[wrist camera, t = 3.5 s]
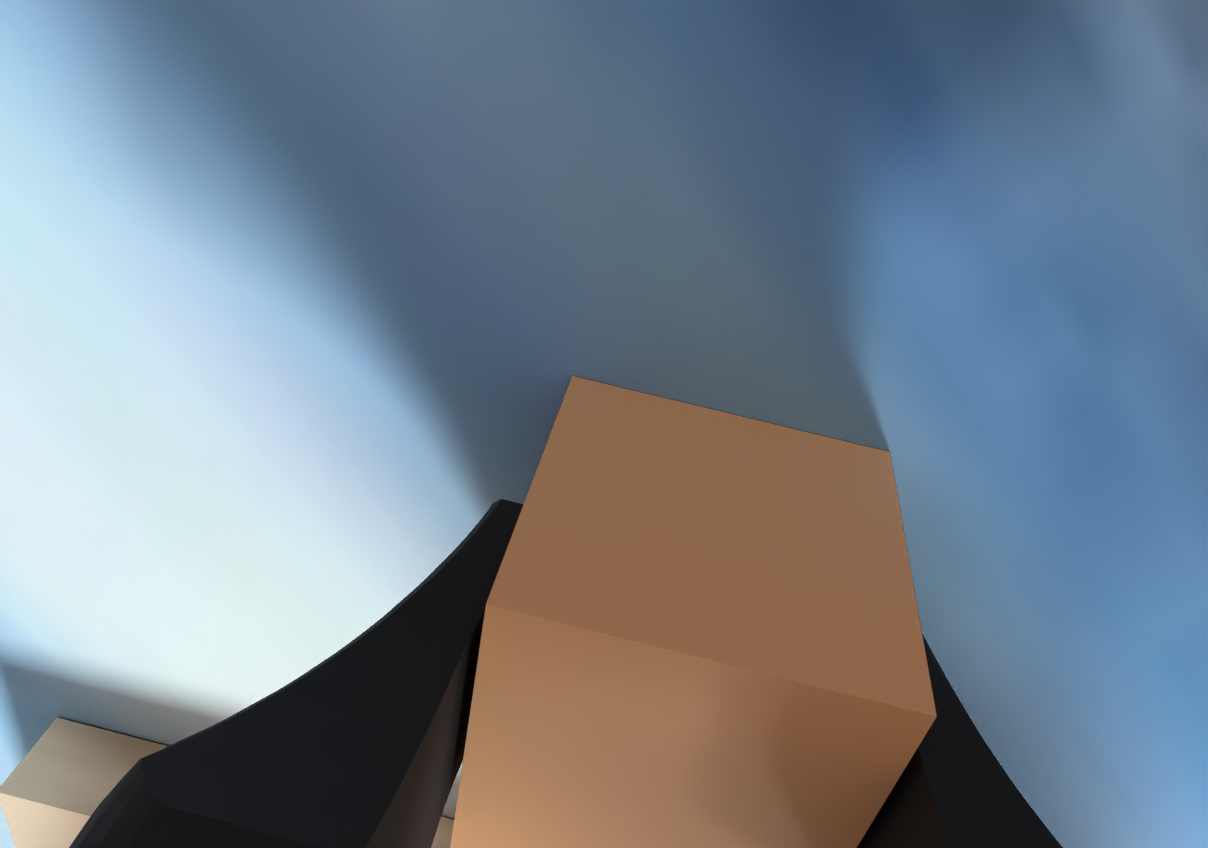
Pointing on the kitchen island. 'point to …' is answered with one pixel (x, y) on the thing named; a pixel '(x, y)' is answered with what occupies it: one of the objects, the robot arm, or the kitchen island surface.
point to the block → (694, 639)
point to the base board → (81, 783)
